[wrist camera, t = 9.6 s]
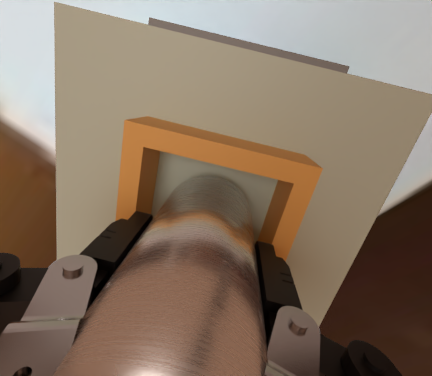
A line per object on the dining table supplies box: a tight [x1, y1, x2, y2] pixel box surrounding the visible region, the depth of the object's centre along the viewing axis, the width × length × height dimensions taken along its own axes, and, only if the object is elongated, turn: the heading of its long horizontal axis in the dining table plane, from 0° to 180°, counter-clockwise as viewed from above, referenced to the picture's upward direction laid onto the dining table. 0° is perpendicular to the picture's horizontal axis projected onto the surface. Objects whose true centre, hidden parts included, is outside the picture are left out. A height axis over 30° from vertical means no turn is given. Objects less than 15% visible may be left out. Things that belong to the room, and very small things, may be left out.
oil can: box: [53, 176, 268, 376], centre depth 10 cm, size 7×5×10 cm
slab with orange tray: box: [54, 2, 432, 327], centre depth 17 cm, size 20×19×10 cm
